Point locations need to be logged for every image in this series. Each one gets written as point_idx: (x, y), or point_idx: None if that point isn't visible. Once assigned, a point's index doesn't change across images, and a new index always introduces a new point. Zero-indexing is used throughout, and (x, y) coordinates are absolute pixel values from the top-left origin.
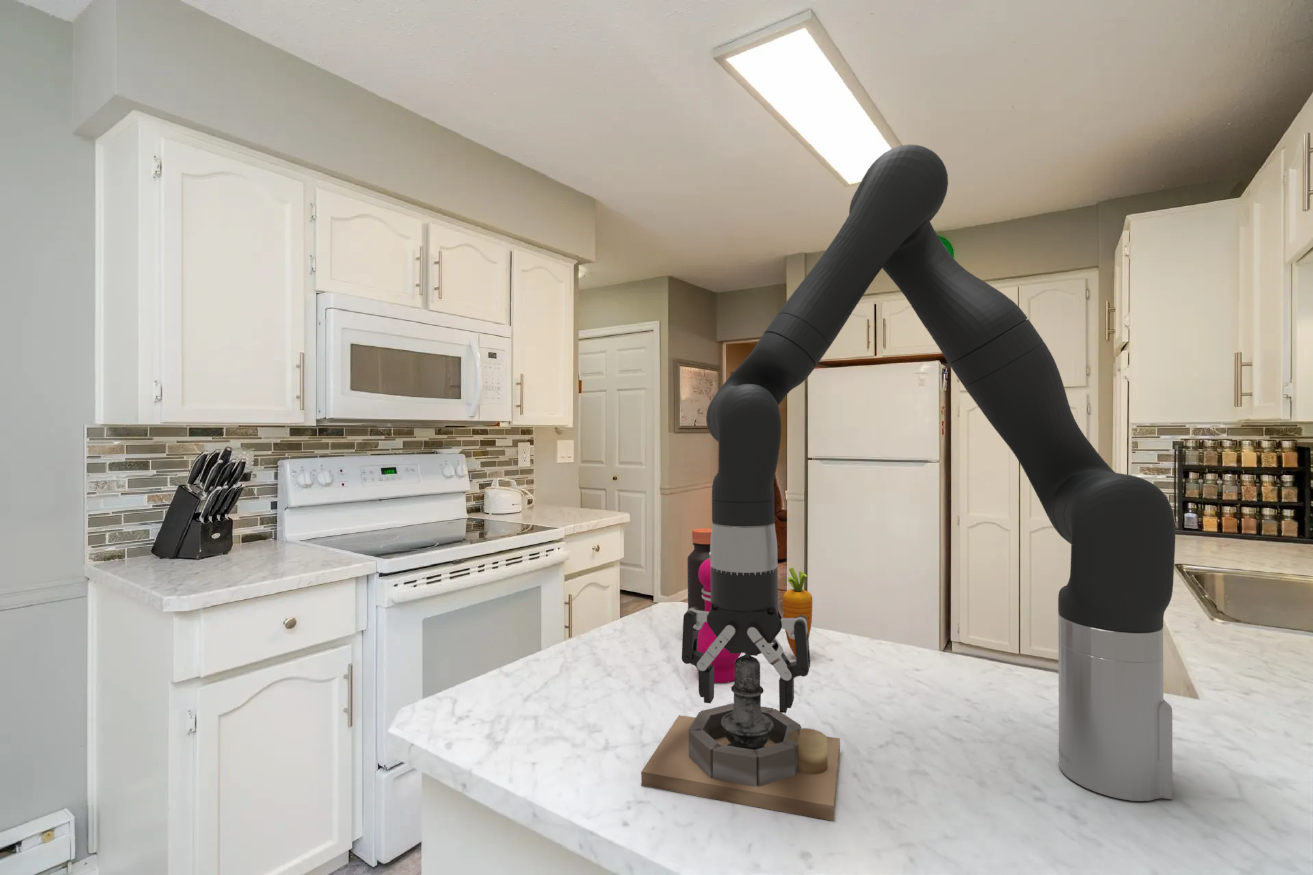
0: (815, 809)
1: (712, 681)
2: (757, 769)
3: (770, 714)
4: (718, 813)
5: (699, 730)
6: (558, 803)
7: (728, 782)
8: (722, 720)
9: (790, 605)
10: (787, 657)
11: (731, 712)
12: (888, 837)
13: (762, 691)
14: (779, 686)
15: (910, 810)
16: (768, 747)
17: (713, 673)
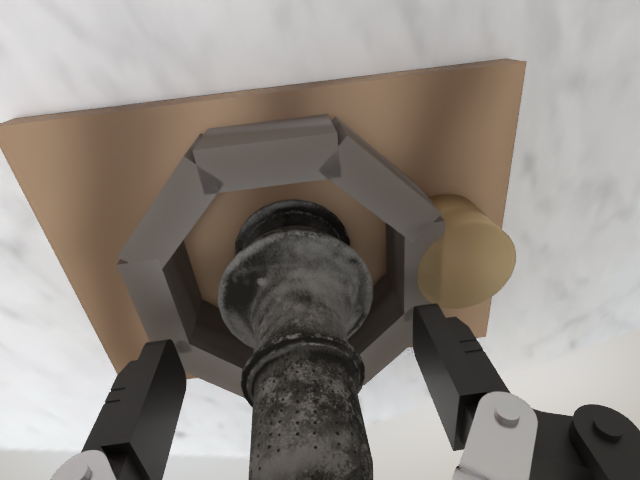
0: None
1: (158, 405)
2: None
3: (339, 186)
4: None
5: (184, 349)
6: (53, 443)
7: None
8: (228, 323)
9: None
10: (529, 469)
11: (229, 271)
12: (552, 317)
13: (363, 376)
14: (445, 427)
15: (610, 240)
16: (374, 346)
17: (144, 416)
